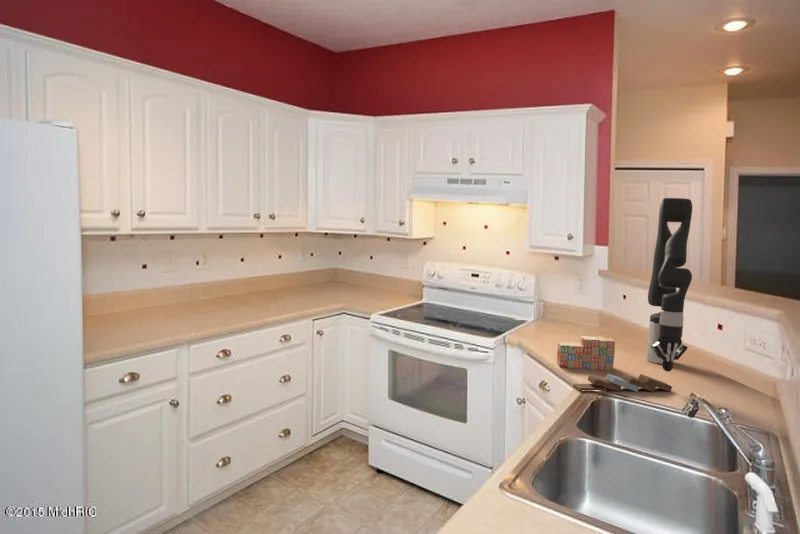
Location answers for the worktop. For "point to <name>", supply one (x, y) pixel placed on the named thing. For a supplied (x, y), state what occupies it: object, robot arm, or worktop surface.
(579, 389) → the domino end
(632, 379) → the domino
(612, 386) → the domino
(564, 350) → the stack of blocks
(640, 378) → the domino
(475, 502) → the worktop surface
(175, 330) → the worktop surface
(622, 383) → the domino
